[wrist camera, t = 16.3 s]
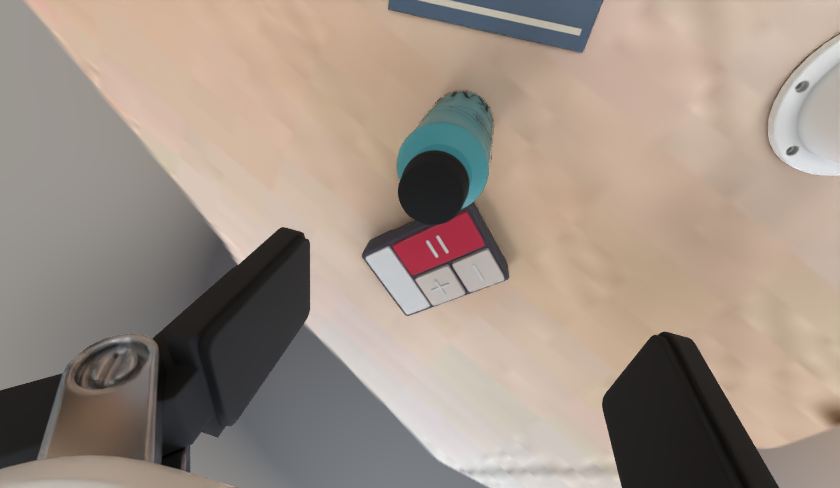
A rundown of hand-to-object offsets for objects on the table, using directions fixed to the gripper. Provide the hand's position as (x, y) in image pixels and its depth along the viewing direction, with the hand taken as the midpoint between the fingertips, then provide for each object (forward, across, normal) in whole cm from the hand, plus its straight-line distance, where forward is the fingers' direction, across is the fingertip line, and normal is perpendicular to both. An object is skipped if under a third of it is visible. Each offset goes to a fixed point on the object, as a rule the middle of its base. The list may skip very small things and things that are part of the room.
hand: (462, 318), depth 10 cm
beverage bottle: (+31, +3, +2) cm, 31 cm away
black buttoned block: (+31, +2, +19) cm, 36 cm away
